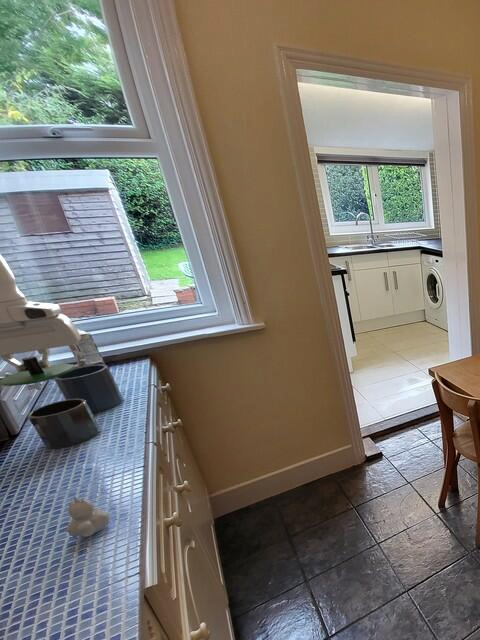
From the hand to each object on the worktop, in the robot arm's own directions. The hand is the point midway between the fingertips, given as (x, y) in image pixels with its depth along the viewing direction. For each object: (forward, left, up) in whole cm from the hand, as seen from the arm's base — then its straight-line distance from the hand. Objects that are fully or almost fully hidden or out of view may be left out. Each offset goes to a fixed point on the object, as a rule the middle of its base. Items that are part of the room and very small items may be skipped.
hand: (35, 369), depth 100 cm
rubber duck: (+13, -51, -20) cm, 56 cm away
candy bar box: (-6, +58, -20) cm, 62 cm away
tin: (+1, +22, -20) cm, 29 cm away
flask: (-3, +41, -20) cm, 46 cm away
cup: (0, 0, -20) cm, 20 cm away
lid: (0, 0, -2) cm, 2 cm away
